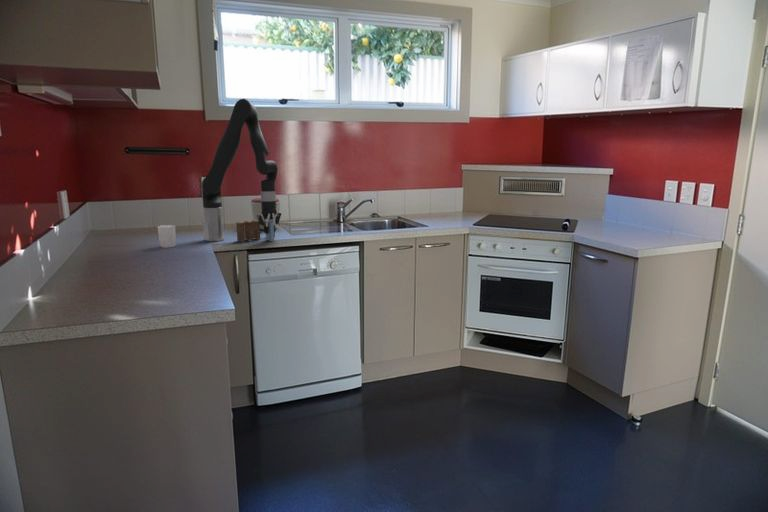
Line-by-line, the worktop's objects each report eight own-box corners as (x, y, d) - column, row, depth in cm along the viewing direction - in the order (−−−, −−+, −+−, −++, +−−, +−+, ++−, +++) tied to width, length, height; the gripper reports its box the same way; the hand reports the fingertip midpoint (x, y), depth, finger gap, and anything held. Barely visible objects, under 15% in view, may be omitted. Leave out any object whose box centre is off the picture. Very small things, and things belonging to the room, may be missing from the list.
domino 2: (250, 241, 266) (249, 222, 264) (245, 239, 270) (244, 221, 268) (252, 240, 267) (251, 221, 265) (247, 239, 271) (246, 220, 269)
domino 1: (242, 242, 263) (241, 223, 261) (237, 240, 267) (236, 221, 265) (245, 241, 264) (244, 222, 262) (240, 240, 268) (239, 221, 266)
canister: (252, 231, 295) (250, 195, 291) (249, 227, 312) (247, 192, 307) (283, 230, 301) (282, 194, 296) (279, 225, 317) (278, 191, 313)
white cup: (172, 244, 256) (171, 224, 254) (179, 246, 251) (177, 226, 249) (156, 246, 251) (154, 226, 249) (163, 248, 246) (161, 228, 243)
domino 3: (257, 240, 269) (256, 221, 267) (252, 238, 273) (251, 220, 271) (260, 239, 270) (259, 220, 268) (255, 238, 274) (254, 219, 272)
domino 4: (271, 241, 266) (270, 222, 263) (266, 240, 269) (265, 221, 267) (274, 241, 267) (273, 222, 265) (268, 239, 270) (268, 221, 268)
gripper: (276, 198, 271) (277, 230, 274) (252, 200, 261) (254, 233, 265) (284, 199, 266) (285, 232, 269) (260, 201, 256) (261, 235, 260)
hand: (269, 232), depth 267 cm, fingers open, 3 cm apart
